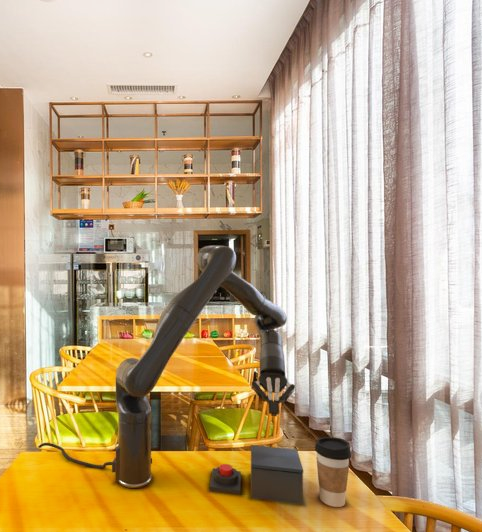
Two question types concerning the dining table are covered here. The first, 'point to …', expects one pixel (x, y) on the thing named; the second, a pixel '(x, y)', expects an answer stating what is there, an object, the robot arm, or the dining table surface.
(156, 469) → the dining table surface
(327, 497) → the coffee cup
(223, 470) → the button
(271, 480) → the dark grey lidded box
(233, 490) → the block
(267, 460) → the lid
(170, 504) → the dining table surface
